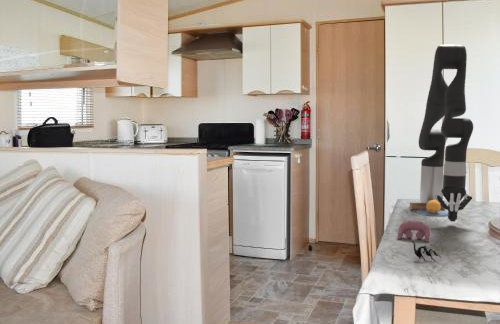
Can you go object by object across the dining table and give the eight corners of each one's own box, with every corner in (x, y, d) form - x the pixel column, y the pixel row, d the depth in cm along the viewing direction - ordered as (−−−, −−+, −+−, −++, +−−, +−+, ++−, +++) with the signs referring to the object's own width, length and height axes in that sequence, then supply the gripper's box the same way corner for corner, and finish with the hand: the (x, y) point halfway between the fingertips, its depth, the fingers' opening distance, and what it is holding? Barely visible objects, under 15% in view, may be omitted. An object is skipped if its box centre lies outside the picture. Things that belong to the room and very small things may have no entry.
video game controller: (429, 245, 160) (431, 224, 162) (429, 241, 156) (430, 220, 158) (398, 241, 164) (400, 221, 166) (396, 238, 160) (398, 217, 162)
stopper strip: (409, 208, 213) (410, 202, 212) (443, 209, 212) (443, 203, 212) (411, 209, 211) (411, 203, 210) (444, 209, 210) (445, 204, 210)
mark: (412, 209, 210) (412, 209, 210) (444, 210, 210) (444, 209, 209) (421, 215, 197) (421, 215, 197) (455, 216, 197) (455, 216, 197)
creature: (433, 259, 143) (406, 254, 142) (437, 241, 142) (411, 235, 141) (445, 268, 135) (418, 262, 134) (450, 249, 134) (423, 243, 134)
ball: (429, 210, 199) (425, 215, 203) (443, 210, 198) (439, 215, 203) (427, 197, 201) (423, 203, 206) (441, 197, 201) (437, 203, 206)
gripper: (469, 172, 183) (466, 219, 185) (432, 172, 184) (430, 218, 185) (477, 175, 176) (474, 223, 177) (439, 174, 176) (437, 223, 178)
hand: (452, 221), depth 181 cm, fingers closed
